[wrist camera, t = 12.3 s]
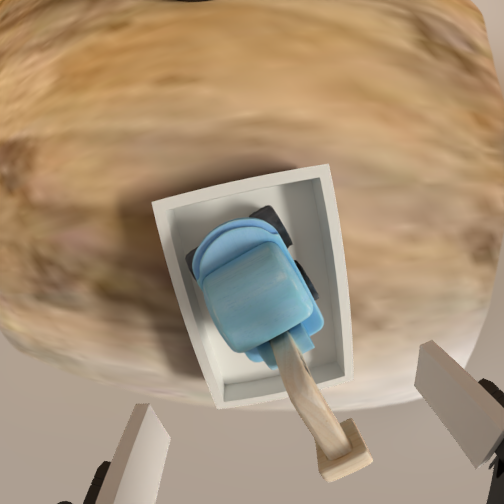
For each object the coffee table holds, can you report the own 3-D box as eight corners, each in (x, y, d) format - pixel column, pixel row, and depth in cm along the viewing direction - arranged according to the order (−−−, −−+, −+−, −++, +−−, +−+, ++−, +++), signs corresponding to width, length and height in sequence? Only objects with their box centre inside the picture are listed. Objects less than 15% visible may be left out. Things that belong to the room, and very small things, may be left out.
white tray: (168, 200, 27) (151, 202, 22) (312, 169, 27) (328, 163, 21) (220, 380, 31) (217, 409, 26) (338, 354, 31) (353, 379, 26)
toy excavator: (268, 372, 28) (288, 507, 12) (184, 243, 25) (93, 322, 8) (337, 337, 28) (411, 454, 11) (264, 196, 25) (310, 197, 8)
